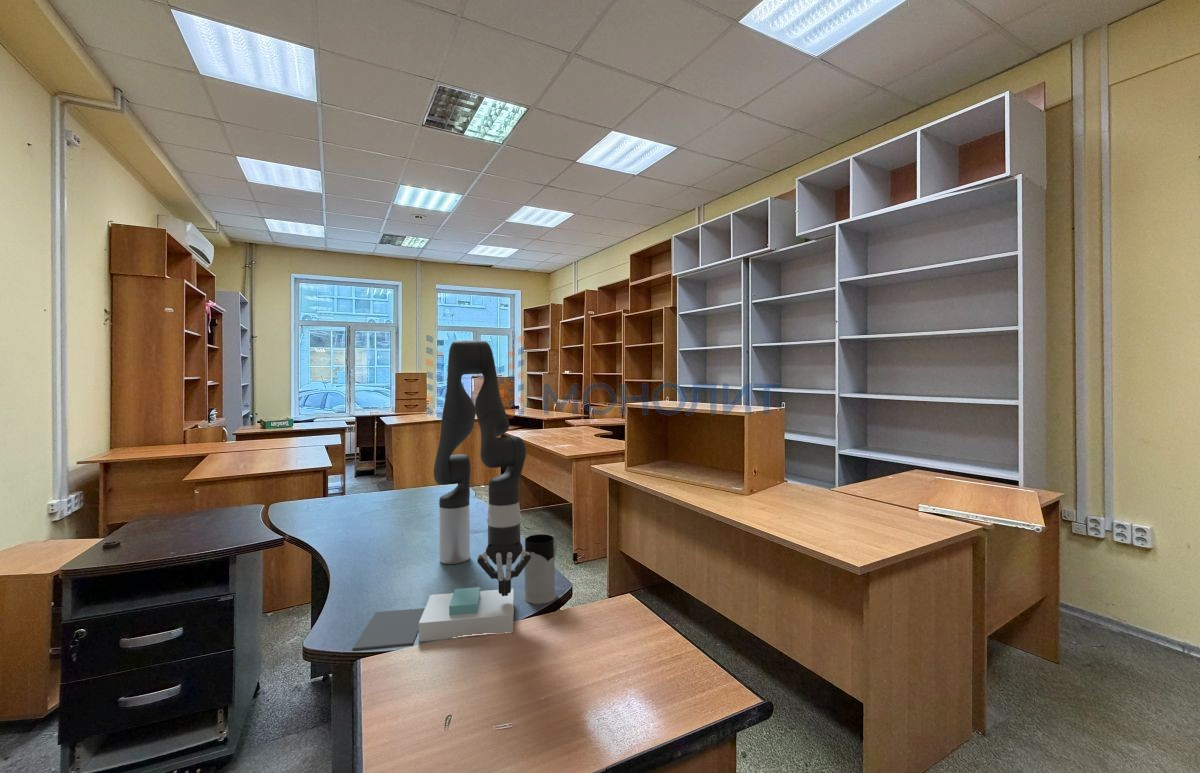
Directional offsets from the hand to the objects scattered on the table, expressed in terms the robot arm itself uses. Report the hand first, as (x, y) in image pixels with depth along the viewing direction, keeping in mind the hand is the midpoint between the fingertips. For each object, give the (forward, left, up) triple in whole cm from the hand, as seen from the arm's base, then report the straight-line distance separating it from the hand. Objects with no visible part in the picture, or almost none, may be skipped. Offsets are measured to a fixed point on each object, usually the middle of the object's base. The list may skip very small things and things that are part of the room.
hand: (504, 594), depth 112 cm
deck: (0, -8, -6) cm, 10 cm away
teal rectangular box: (0, -9, -2) cm, 9 cm away
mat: (0, -25, -6) cm, 26 cm away
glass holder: (-13, +10, -6) cm, 18 cm away
